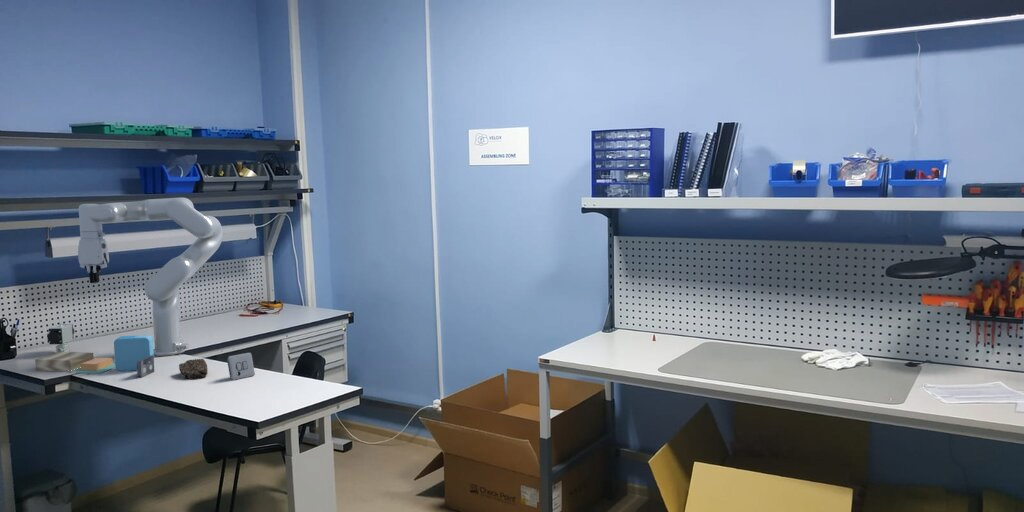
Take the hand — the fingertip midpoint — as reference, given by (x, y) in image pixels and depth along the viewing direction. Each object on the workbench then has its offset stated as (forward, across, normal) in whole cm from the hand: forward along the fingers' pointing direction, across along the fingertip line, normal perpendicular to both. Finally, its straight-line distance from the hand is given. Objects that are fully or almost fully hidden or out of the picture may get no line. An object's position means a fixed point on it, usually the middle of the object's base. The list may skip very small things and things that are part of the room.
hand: (94, 282), depth 285 cm
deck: (+29, +1, +17) cm, 34 cm away
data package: (+29, -27, +17) cm, 43 cm away
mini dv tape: (+29, -36, +24) cm, 52 cm away
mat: (+29, -12, +17) cm, 36 cm away
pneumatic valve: (+29, +18, -2) cm, 34 cm away
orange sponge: (+26, -12, +17) cm, 34 cm away
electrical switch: (+29, -71, +23) cm, 80 cm away
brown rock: (+30, -53, +23) cm, 65 cm away
